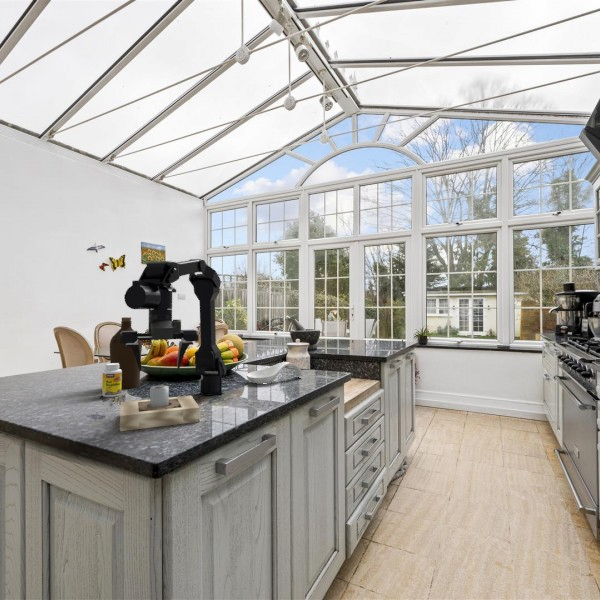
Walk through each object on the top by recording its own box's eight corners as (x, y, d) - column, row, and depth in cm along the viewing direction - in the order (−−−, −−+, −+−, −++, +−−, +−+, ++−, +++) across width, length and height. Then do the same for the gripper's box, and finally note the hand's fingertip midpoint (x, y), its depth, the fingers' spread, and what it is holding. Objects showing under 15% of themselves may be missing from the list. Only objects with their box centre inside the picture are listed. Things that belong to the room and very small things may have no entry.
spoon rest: (256, 388, 134) (256, 368, 134) (240, 382, 143) (241, 364, 143) (308, 380, 148) (308, 362, 148) (290, 376, 158) (290, 359, 158)
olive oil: (137, 389, 130) (137, 317, 130) (104, 390, 128) (105, 317, 129) (144, 383, 140) (145, 317, 141) (114, 384, 139) (115, 317, 139)
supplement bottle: (103, 398, 117) (103, 365, 117) (101, 394, 122) (101, 363, 122) (122, 396, 120) (123, 364, 120) (120, 392, 125) (120, 362, 125)
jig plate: (190, 407, 106) (191, 395, 106) (199, 421, 93) (199, 407, 93) (120, 415, 98) (121, 402, 99) (120, 431, 86) (120, 416, 86)
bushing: (167, 415, 99) (167, 384, 99) (169, 419, 95) (169, 387, 95) (149, 417, 97) (149, 385, 97) (150, 421, 93) (150, 389, 93)
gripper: (120, 309, 85) (119, 377, 85) (202, 309, 93) (202, 372, 93) (120, 309, 95) (119, 370, 95) (195, 309, 103) (194, 365, 103)
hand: (159, 369), depth 96 cm, fingers open, 9 cm apart
